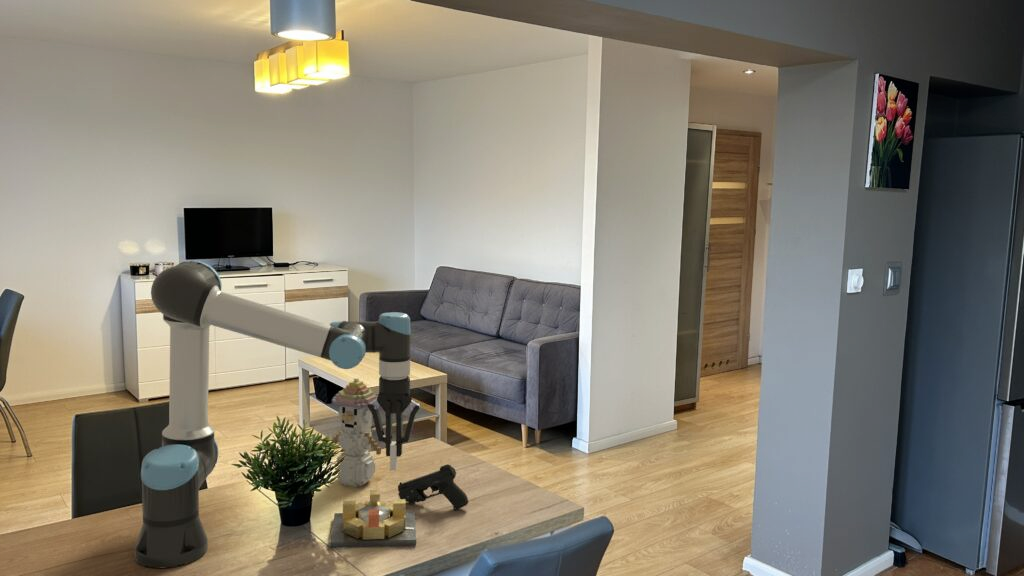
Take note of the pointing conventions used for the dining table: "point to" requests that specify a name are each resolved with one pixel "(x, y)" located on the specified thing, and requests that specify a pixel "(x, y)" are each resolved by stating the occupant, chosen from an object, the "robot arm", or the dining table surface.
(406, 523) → the base plate
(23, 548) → the dining table surface
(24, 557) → the dining table surface
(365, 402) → the toy
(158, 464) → the robot arm
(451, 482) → the handgun
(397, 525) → the ring nut
